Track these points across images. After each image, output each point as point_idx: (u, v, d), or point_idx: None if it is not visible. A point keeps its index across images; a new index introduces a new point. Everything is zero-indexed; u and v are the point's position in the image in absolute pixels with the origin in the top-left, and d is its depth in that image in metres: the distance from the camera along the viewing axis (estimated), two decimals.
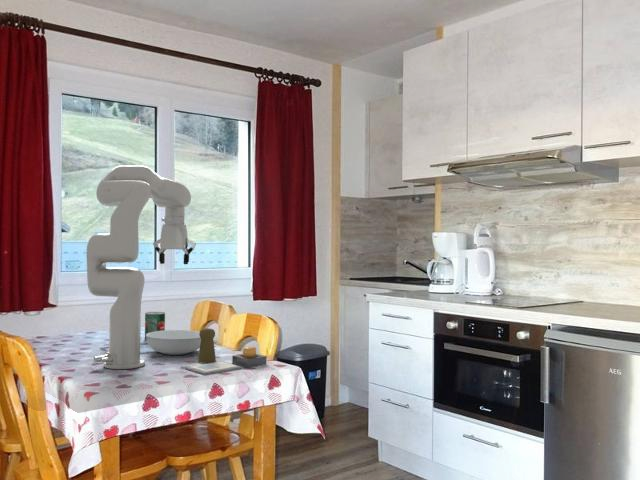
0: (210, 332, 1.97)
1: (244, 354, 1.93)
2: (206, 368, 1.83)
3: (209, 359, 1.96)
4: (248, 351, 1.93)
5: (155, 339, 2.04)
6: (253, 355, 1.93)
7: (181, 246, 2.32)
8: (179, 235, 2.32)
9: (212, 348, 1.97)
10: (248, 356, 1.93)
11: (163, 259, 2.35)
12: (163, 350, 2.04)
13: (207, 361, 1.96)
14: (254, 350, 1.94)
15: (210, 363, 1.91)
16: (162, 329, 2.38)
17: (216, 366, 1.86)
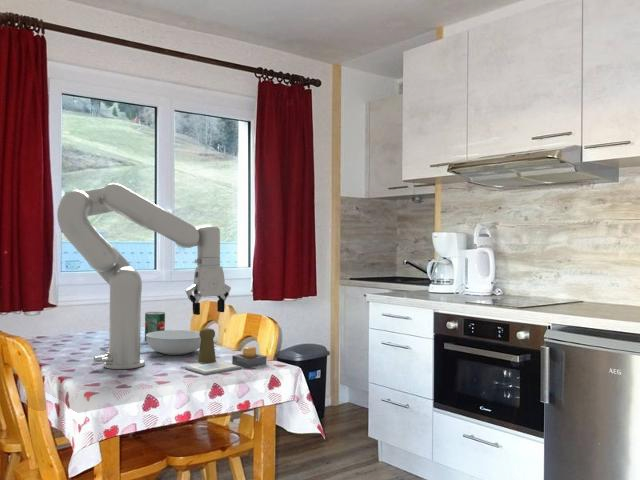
0: (210, 332, 1.97)
1: (244, 354, 1.93)
2: (206, 368, 1.83)
3: (209, 359, 1.96)
4: (248, 351, 1.93)
5: (155, 339, 2.04)
6: (253, 355, 1.93)
7: (223, 292, 2.00)
8: (220, 279, 1.99)
9: (212, 348, 1.97)
10: (248, 356, 1.93)
11: None
12: (163, 350, 2.04)
13: (207, 361, 1.96)
14: (254, 350, 1.94)
15: (210, 363, 1.91)
16: (162, 329, 2.38)
17: (216, 366, 1.86)
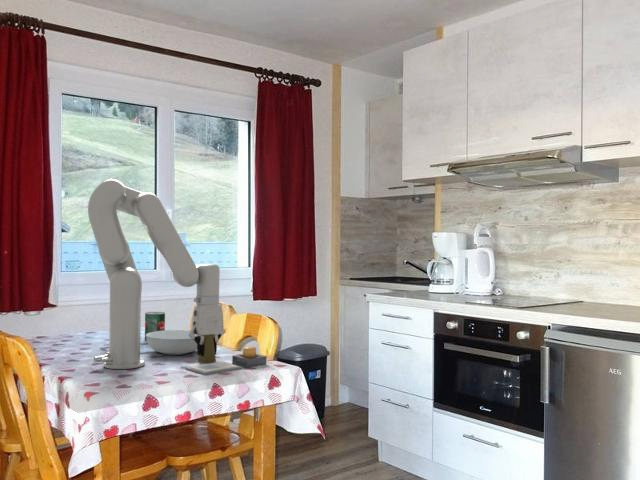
0: None
1: (244, 354, 1.93)
2: (206, 368, 1.83)
3: (209, 359, 1.96)
4: (248, 351, 1.93)
5: (155, 339, 2.04)
6: (253, 355, 1.93)
7: (221, 330, 1.99)
8: (219, 317, 1.99)
9: (212, 348, 1.97)
10: (248, 356, 1.93)
11: None
12: (163, 350, 2.04)
13: (207, 361, 1.96)
14: (254, 350, 1.94)
15: (210, 363, 1.91)
16: (162, 329, 2.38)
17: (216, 366, 1.86)
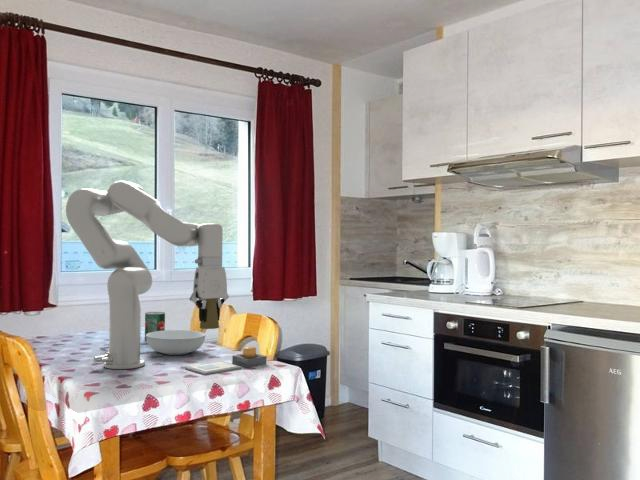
0: None
1: (244, 354, 1.93)
2: (206, 368, 1.83)
3: (211, 324, 1.83)
4: (248, 351, 1.93)
5: (155, 339, 2.04)
6: (253, 355, 1.93)
7: (224, 294, 1.86)
8: (222, 281, 1.86)
9: (215, 313, 1.84)
10: (248, 356, 1.93)
11: None
12: (163, 350, 2.04)
13: (210, 327, 1.83)
14: (254, 350, 1.94)
15: (210, 363, 1.91)
16: (162, 329, 2.38)
17: (216, 366, 1.86)
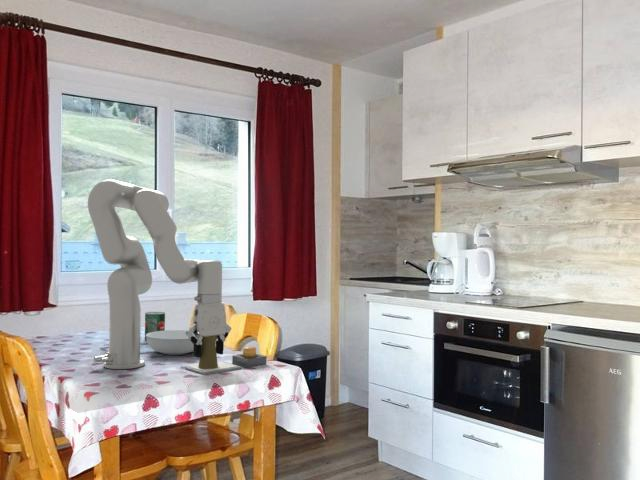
0: (212, 336, 1.84)
1: (244, 354, 1.93)
2: None
3: (210, 364, 1.83)
4: (248, 351, 1.93)
5: (155, 339, 2.04)
6: (253, 355, 1.93)
7: (224, 331, 1.86)
8: (222, 317, 1.86)
9: (214, 353, 1.84)
10: (248, 356, 1.93)
11: None
12: (163, 350, 2.04)
13: (208, 367, 1.83)
14: (254, 350, 1.94)
15: None
16: (162, 329, 2.38)
17: None
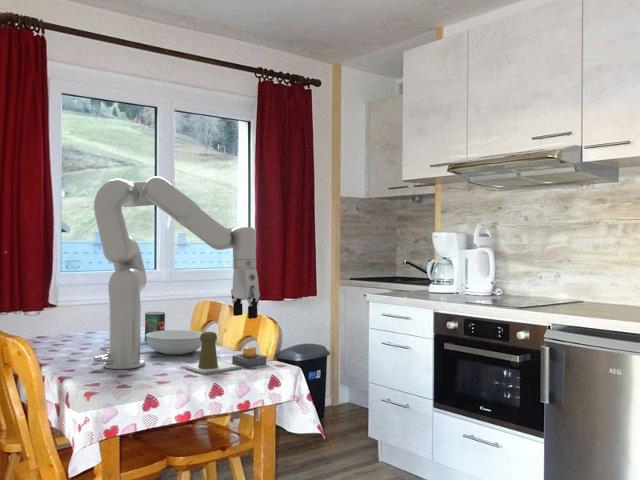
0: (212, 336, 1.84)
1: (244, 354, 1.93)
2: None
3: (210, 364, 1.83)
4: (248, 351, 1.93)
5: (155, 339, 2.04)
6: (253, 355, 1.93)
7: None
8: None
9: (214, 353, 1.84)
10: (248, 356, 1.93)
11: None
12: (163, 350, 2.04)
13: (208, 367, 1.83)
14: (254, 350, 1.94)
15: None
16: (162, 329, 2.38)
17: None
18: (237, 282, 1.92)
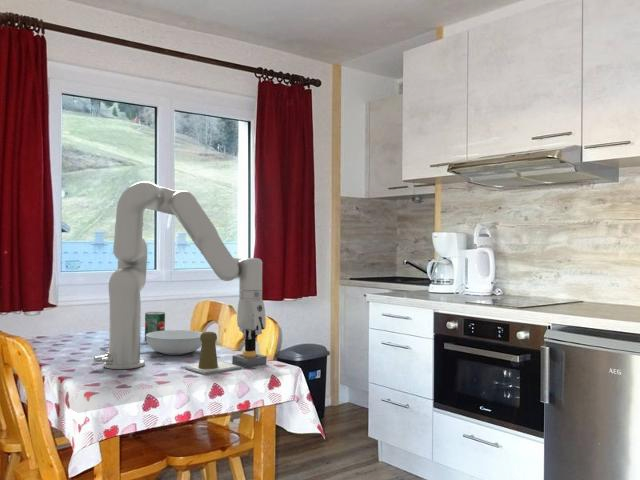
0: (212, 336, 1.84)
1: None
2: None
3: (210, 364, 1.83)
4: (248, 353, 1.93)
5: (155, 339, 2.04)
6: None
7: None
8: None
9: (214, 353, 1.84)
10: None
11: None
12: (163, 350, 2.04)
13: (208, 367, 1.83)
14: (254, 353, 1.94)
15: None
16: (162, 329, 2.38)
17: None
18: (243, 312, 1.94)
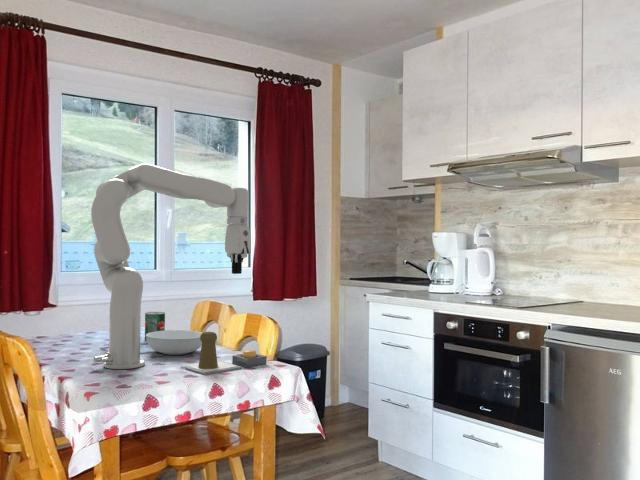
0: (212, 336, 1.84)
1: None
2: None
3: (210, 364, 1.83)
4: (248, 354, 1.93)
5: (155, 339, 2.04)
6: None
7: None
8: None
9: (214, 353, 1.84)
10: None
11: None
12: (163, 350, 2.04)
13: (208, 367, 1.83)
14: (254, 353, 1.94)
15: None
16: (162, 329, 2.38)
17: None
18: (230, 237, 2.09)
